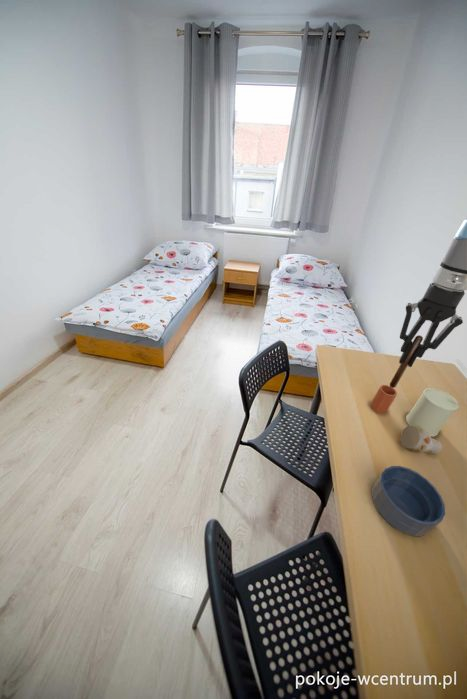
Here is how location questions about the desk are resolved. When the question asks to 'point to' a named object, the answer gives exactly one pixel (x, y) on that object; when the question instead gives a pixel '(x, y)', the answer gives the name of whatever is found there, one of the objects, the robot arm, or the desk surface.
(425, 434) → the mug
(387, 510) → the bowl
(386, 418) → the desk surface
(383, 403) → the holder
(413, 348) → the stick
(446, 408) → the can
